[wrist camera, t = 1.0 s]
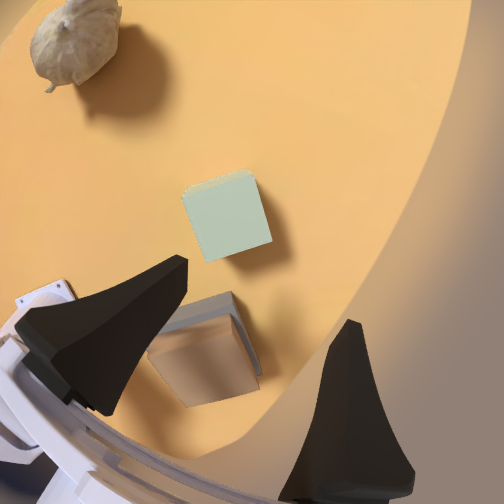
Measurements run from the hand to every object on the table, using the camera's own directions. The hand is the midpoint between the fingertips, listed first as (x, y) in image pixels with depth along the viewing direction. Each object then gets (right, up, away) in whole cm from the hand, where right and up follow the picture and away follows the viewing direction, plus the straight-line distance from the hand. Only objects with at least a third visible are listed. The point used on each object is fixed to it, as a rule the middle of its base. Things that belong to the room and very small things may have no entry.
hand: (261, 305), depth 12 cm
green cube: (-3, +6, +12) cm, 14 cm away
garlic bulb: (-14, +20, +5) cm, 25 cm away
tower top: (-5, -8, +14) cm, 17 cm away
